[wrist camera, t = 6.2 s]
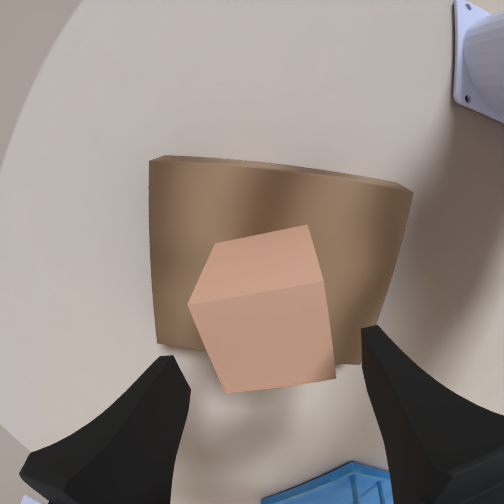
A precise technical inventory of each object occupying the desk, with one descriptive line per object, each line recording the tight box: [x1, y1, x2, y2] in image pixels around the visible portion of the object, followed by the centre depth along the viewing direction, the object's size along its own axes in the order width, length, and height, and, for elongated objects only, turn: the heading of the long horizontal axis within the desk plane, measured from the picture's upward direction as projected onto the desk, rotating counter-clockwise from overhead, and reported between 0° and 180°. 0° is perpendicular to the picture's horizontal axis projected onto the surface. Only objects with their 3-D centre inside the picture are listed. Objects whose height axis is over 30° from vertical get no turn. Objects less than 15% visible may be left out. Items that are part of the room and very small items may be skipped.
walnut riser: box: [149, 155, 413, 365], centre depth 19 cm, size 14×12×2 cm
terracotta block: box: [187, 225, 336, 393], centre depth 15 cm, size 5×5×6 cm
